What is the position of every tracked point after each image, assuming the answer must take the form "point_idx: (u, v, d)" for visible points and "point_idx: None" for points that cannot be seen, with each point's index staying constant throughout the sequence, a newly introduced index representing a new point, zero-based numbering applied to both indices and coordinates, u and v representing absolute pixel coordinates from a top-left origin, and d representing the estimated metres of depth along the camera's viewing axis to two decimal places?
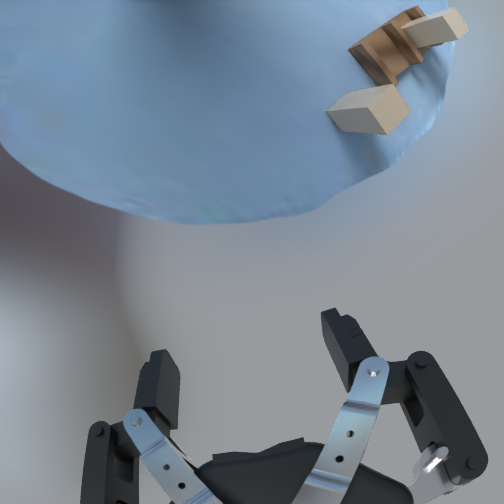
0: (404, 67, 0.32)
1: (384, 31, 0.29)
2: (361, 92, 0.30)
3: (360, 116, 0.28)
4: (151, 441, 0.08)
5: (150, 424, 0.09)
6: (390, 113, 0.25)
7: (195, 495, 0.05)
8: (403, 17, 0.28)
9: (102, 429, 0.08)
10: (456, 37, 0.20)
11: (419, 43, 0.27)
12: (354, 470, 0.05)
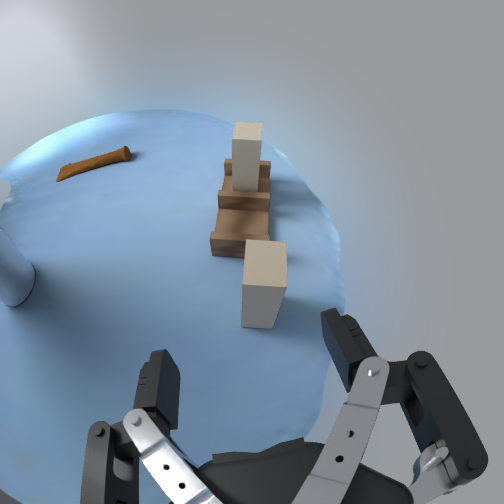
0: (266, 219, 0.43)
1: (224, 209, 0.44)
2: None
3: (255, 299, 0.28)
4: (151, 441, 0.08)
5: (150, 424, 0.09)
6: (269, 265, 0.26)
7: (195, 495, 0.05)
8: (228, 181, 0.48)
9: (102, 429, 0.08)
10: (258, 140, 0.36)
11: (253, 185, 0.43)
12: (354, 470, 0.05)
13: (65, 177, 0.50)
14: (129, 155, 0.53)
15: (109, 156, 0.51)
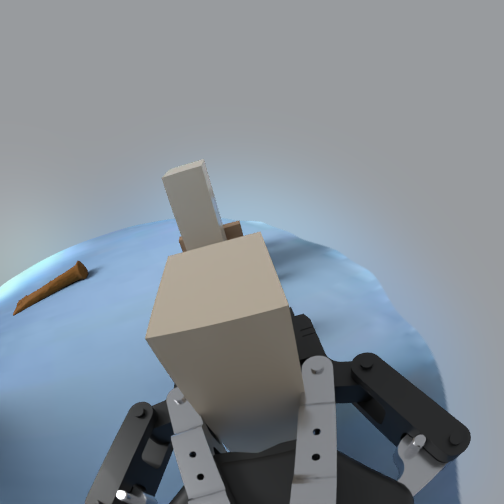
0: None
1: None
2: None
3: (222, 393, 0.08)
4: (188, 423, 0.09)
5: None
6: (222, 277, 0.09)
7: (209, 490, 0.06)
8: None
9: (143, 410, 0.09)
10: (198, 167, 0.25)
11: None
12: (335, 463, 0.06)
13: (21, 309, 0.37)
14: (85, 271, 0.42)
15: (63, 276, 0.41)
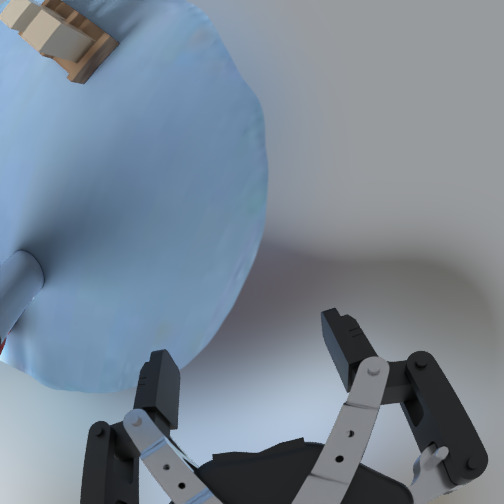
0: (90, 23, 0.24)
1: None
2: None
3: (58, 47, 0.19)
4: (151, 441, 0.08)
5: (150, 424, 0.09)
6: (42, 28, 0.15)
7: (195, 495, 0.05)
8: None
9: (102, 429, 0.08)
10: (29, 4, 0.12)
11: None
12: (354, 470, 0.05)
13: None
14: None
15: None
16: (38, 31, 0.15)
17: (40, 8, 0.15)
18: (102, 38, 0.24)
